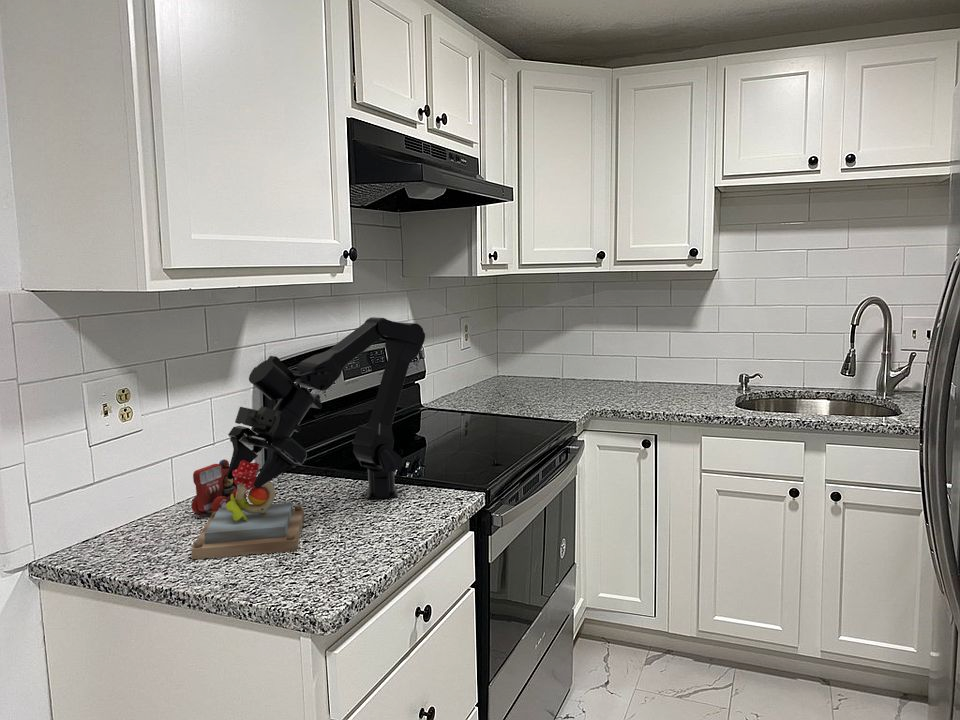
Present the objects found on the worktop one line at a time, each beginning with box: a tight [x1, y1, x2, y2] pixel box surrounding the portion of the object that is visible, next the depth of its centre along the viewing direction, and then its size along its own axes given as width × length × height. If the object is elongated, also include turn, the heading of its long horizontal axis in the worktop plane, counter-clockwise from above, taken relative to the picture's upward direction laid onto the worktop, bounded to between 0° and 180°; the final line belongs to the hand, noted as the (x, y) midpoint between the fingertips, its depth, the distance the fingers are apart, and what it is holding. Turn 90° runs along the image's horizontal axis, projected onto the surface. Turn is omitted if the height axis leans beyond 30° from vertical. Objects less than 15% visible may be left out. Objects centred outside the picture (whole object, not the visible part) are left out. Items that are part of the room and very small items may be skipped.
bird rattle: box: [226, 460, 276, 521], centre depth 140 cm, size 6×11×9 cm
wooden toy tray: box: [190, 501, 305, 561], centre depth 140 cm, size 18×18×4 cm
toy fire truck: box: [191, 459, 248, 515], centre depth 156 cm, size 7×12×10 cm, turn 157°
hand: (241, 482), depth 138 cm, fingers open, 9 cm apart
